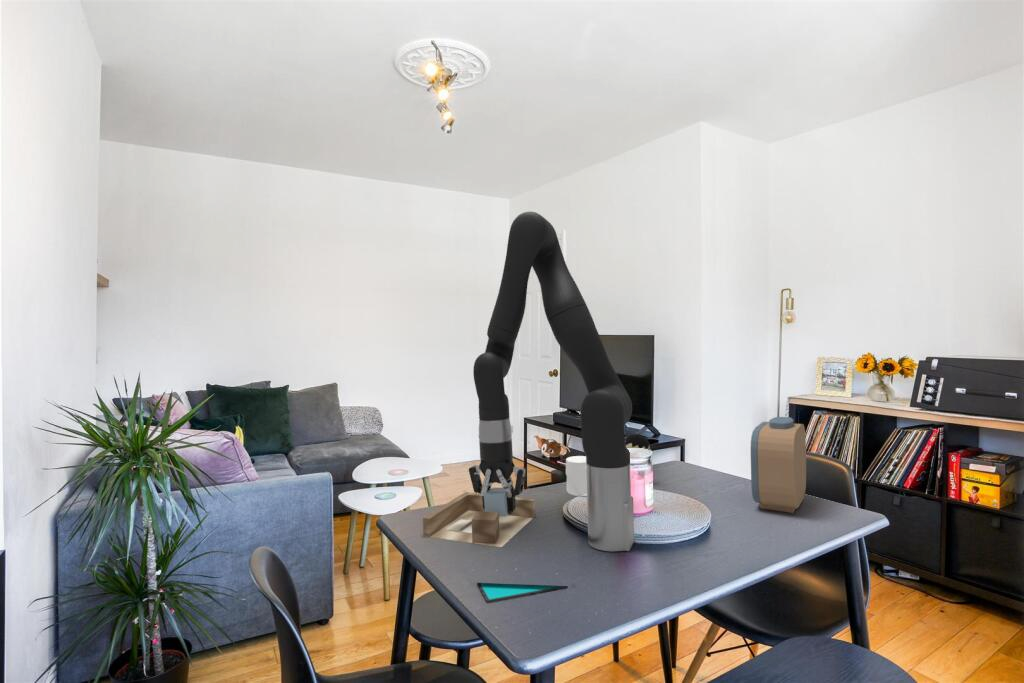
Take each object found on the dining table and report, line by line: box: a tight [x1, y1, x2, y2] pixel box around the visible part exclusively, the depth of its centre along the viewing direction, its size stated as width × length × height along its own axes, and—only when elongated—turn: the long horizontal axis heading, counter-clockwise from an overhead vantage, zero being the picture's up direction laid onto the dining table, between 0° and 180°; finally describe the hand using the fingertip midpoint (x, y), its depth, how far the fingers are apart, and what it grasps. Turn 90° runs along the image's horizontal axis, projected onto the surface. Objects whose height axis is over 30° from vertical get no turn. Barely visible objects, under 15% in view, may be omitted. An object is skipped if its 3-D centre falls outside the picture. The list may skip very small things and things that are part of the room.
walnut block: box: [471, 512, 499, 544], centre depth 114 cm, size 5×5×5 cm
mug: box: [565, 455, 587, 497], centre depth 149 cm, size 12×9×8 cm
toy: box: [625, 433, 653, 465], centre depth 155 cm, size 9×7×15 cm
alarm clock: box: [750, 416, 807, 514], centre depth 135 cm, size 21×10×22 cm, turn 144°
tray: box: [422, 491, 536, 548], centre depth 123 cm, size 19×20×5 cm
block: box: [484, 486, 508, 517], centre depth 122 cm, size 5×5×5 cm
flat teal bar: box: [476, 582, 569, 604], centre depth 95 cm, size 7×1×15 cm
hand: (499, 511), depth 122 cm, fingers closed on block, 5 cm apart
